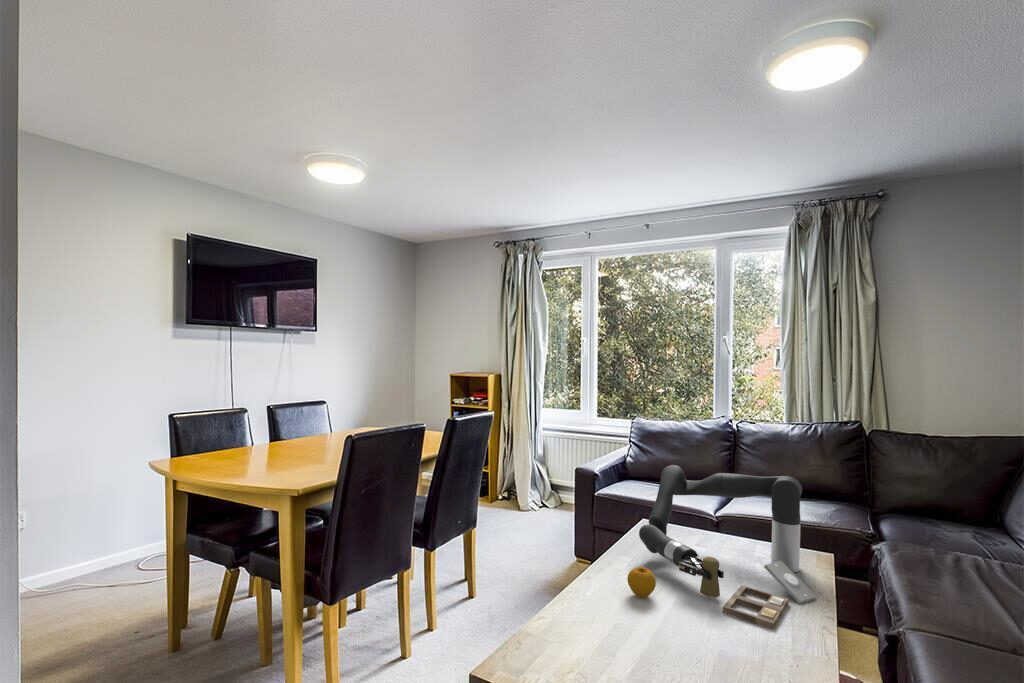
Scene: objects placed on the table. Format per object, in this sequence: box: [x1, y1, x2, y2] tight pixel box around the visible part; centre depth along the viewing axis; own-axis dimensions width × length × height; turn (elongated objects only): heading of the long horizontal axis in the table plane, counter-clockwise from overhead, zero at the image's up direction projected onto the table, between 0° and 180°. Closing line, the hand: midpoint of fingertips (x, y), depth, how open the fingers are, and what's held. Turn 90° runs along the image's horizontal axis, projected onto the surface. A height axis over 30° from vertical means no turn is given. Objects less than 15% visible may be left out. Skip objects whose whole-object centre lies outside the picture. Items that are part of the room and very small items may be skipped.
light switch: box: [763, 561, 817, 605], centre depth 171 cm, size 8×6×14 cm
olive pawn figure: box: [699, 556, 721, 599], centre depth 165 cm, size 6×6×11 cm
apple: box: [626, 566, 657, 599], centre depth 165 cm, size 9×9×9 cm
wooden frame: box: [722, 584, 789, 630], centre depth 159 cm, size 20×14×2 cm
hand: (716, 575), depth 163 cm, fingers closed on olive pawn figure, 4 cm apart
